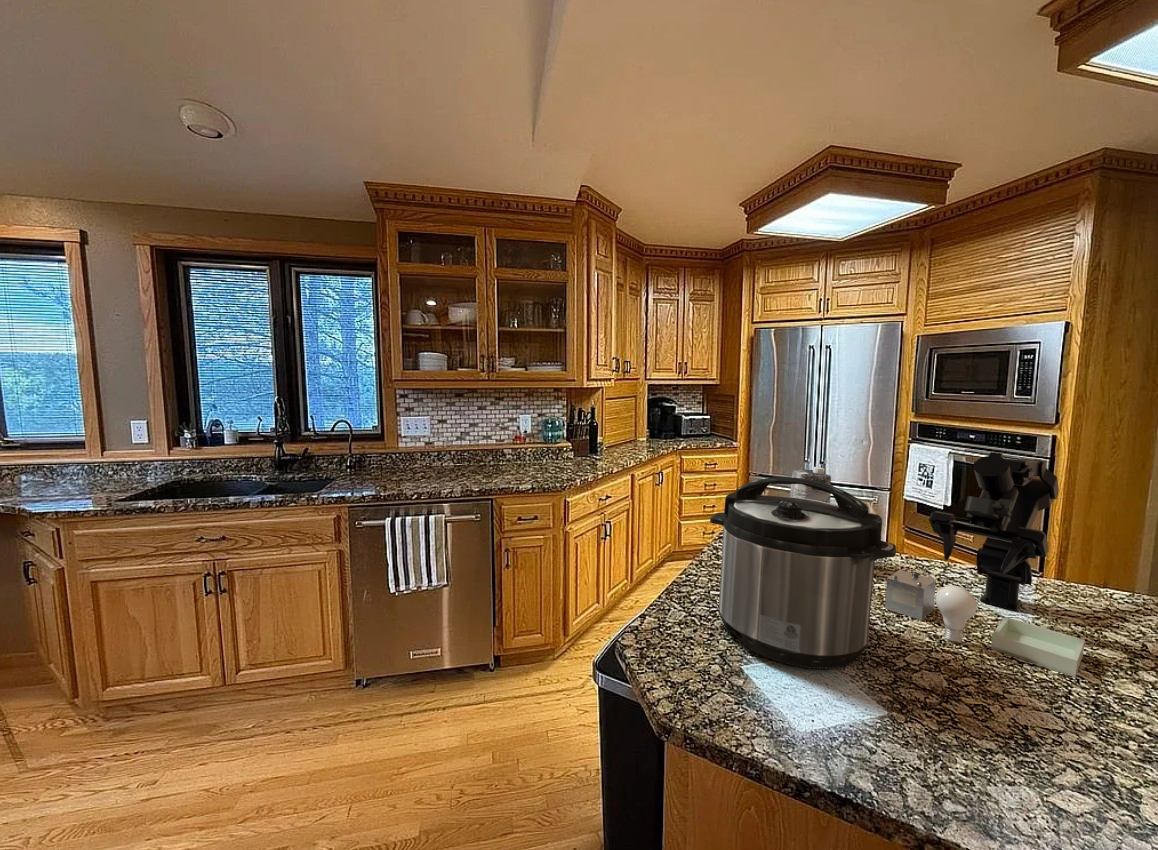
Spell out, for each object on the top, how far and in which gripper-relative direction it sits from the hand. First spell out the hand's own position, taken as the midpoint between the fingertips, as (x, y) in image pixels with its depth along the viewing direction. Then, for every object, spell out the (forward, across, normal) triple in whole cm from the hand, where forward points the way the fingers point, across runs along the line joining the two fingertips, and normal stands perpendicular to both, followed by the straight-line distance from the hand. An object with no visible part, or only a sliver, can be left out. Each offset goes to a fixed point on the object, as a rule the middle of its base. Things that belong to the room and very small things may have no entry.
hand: (972, 565), depth 97 cm
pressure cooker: (+33, -19, -14) cm, 40 cm away
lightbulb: (+16, 0, +3) cm, 16 cm away
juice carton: (+3, -40, +16) cm, 44 cm away
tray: (+9, +10, +10) cm, 17 cm away
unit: (+10, -10, +9) cm, 17 cm away
